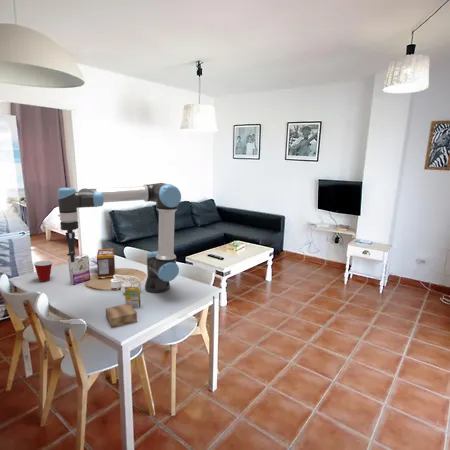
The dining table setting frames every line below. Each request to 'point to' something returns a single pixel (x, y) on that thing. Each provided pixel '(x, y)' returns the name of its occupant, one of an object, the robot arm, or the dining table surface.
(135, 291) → the crayon box
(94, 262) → the water lily
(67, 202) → the robot arm
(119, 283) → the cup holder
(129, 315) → the walnut block
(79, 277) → the candy bar box
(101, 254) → the supplement box
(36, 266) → the plastic cup
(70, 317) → the dining table surface
